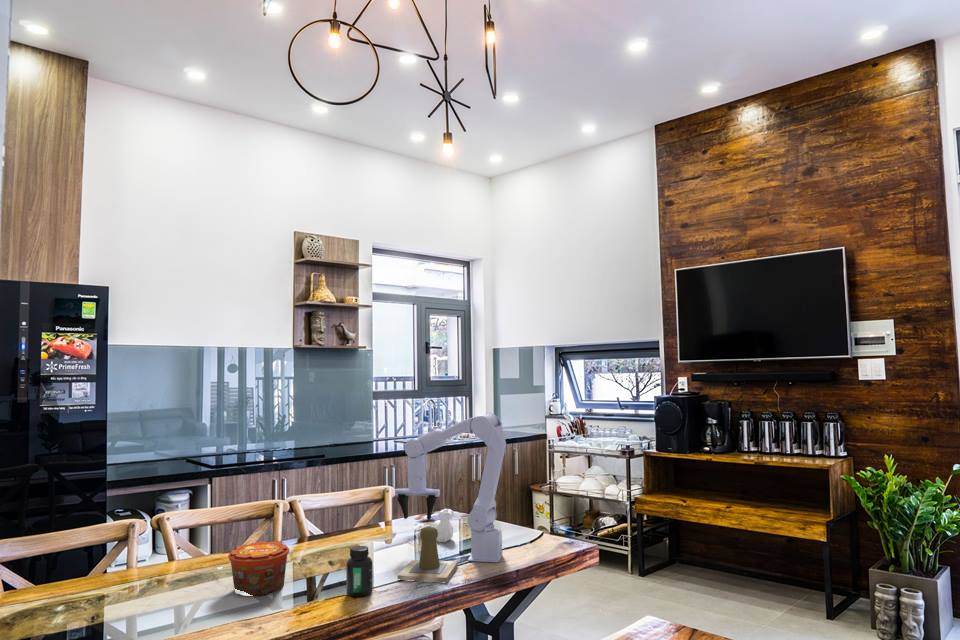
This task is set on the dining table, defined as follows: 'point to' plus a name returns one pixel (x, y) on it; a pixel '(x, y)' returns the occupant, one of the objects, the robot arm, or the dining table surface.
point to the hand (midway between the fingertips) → (417, 518)
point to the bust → (444, 525)
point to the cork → (429, 549)
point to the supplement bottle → (359, 573)
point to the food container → (259, 567)
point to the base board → (428, 572)
